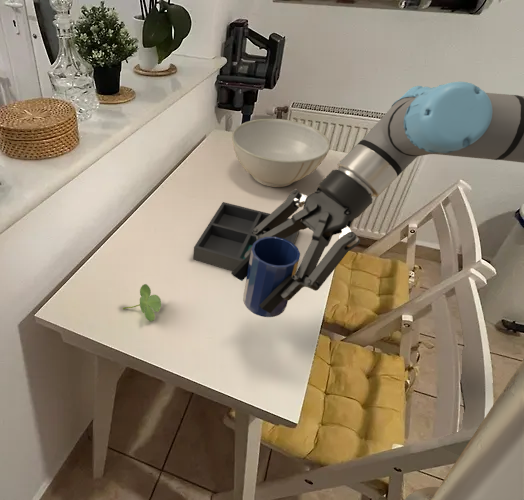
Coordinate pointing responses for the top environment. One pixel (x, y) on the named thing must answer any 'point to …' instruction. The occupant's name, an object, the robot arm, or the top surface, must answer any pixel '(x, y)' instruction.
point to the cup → (269, 272)
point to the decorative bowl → (279, 150)
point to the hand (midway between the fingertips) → (250, 292)
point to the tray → (230, 236)
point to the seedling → (148, 303)
